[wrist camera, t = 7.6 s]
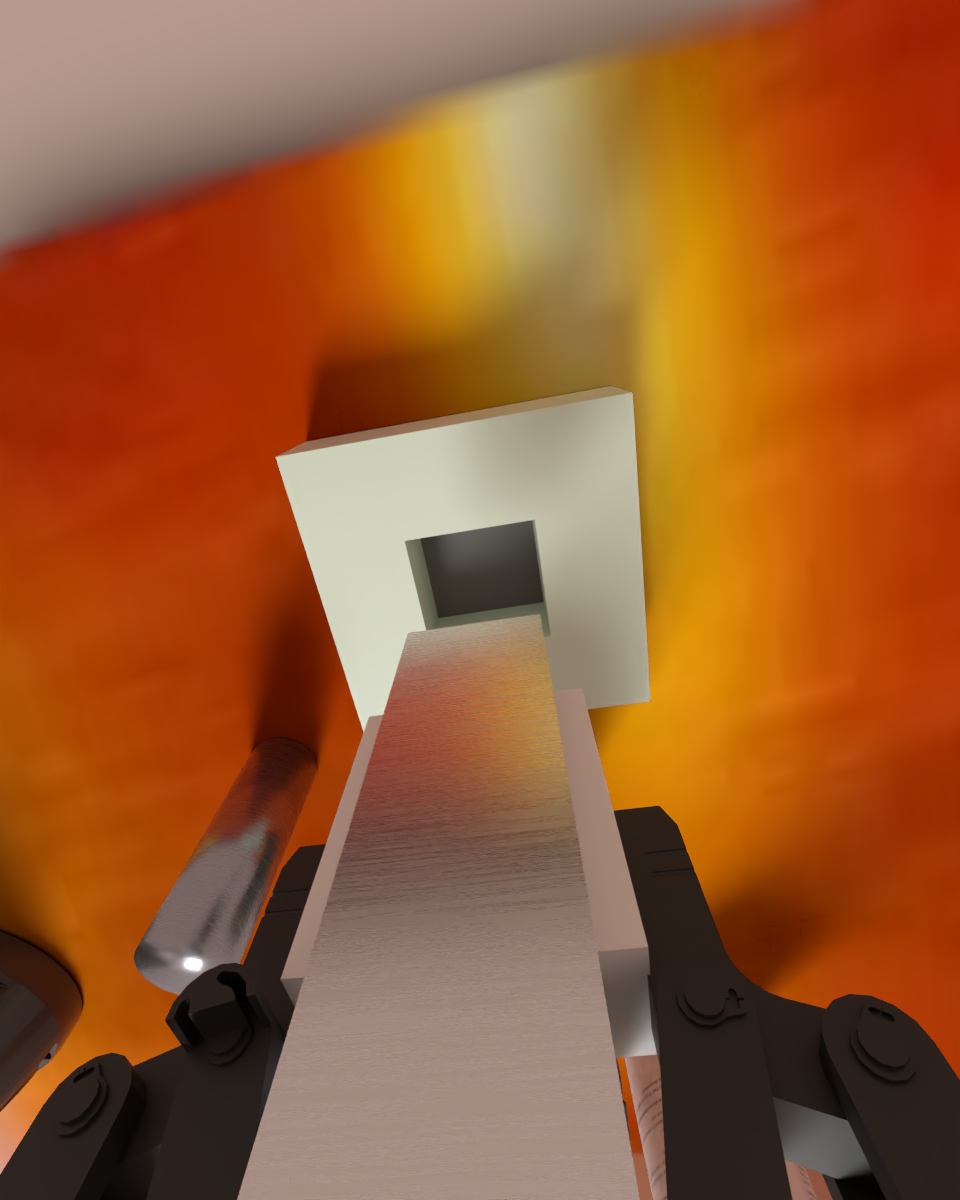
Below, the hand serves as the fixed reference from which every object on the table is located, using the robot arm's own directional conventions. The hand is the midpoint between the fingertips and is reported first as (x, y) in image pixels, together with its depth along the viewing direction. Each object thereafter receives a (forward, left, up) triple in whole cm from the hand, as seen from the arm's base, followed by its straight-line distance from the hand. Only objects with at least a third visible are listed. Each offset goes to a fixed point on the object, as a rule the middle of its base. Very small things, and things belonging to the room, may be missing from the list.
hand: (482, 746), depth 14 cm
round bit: (-14, -11, -15) cm, 23 cm away
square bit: (0, 0, -3) cm, 3 cm away
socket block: (0, 0, -15) cm, 15 cm away
